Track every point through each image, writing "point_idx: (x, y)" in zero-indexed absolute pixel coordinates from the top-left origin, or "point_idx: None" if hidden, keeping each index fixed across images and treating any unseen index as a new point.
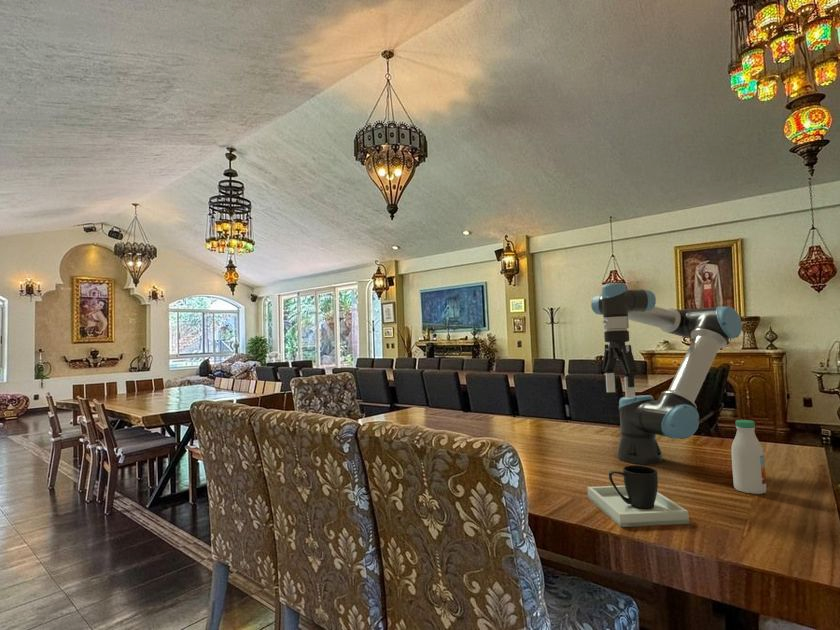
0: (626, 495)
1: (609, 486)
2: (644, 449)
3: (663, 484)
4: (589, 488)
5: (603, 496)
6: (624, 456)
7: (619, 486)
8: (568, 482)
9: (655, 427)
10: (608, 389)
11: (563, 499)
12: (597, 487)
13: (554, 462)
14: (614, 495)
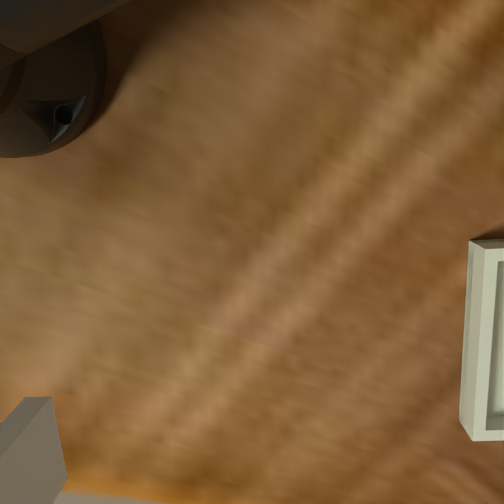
0: (498, 321)
1: (482, 375)
2: (67, 58)
3: (371, 126)
4: (488, 440)
5: (492, 390)
6: (52, 147)
7: (488, 344)
8: (309, 431)
9: (126, 2)
10: (48, 493)
11: (459, 486)
12: (483, 414)
13: (74, 413)
14: (491, 356)
